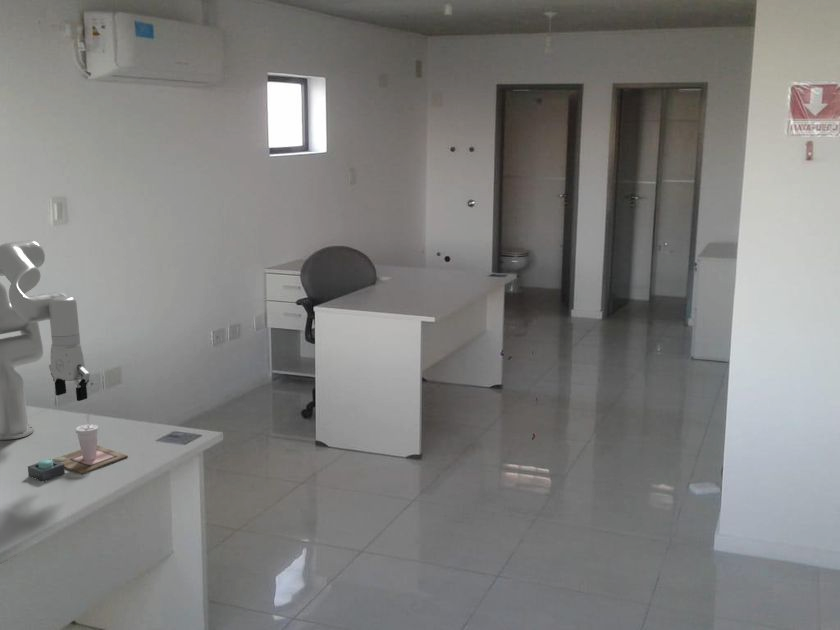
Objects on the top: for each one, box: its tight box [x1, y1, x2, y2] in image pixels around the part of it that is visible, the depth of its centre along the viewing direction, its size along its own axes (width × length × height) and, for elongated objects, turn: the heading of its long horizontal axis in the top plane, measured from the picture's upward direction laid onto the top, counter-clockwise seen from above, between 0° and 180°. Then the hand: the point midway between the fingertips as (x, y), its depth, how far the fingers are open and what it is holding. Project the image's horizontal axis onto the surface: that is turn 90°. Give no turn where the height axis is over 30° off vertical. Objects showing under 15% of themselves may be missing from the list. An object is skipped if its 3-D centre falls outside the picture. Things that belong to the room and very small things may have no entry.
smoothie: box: [75, 413, 99, 461], centre depth 277 cm, size 6×6×14 cm
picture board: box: [51, 445, 129, 475], centre depth 279 cm, size 16×16×1 cm
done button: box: [37, 458, 53, 470], centre depth 268 cm, size 4×4×3 cm
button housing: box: [27, 458, 66, 482], centre depth 268 cm, size 7×7×3 cm
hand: (71, 397), depth 271 cm, fingers open, 9 cm apart
